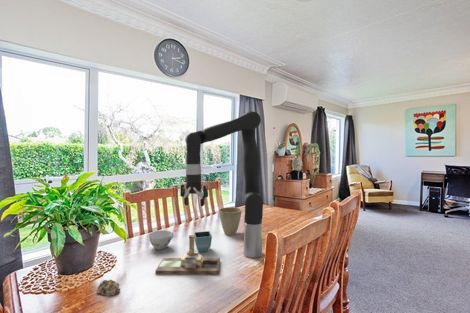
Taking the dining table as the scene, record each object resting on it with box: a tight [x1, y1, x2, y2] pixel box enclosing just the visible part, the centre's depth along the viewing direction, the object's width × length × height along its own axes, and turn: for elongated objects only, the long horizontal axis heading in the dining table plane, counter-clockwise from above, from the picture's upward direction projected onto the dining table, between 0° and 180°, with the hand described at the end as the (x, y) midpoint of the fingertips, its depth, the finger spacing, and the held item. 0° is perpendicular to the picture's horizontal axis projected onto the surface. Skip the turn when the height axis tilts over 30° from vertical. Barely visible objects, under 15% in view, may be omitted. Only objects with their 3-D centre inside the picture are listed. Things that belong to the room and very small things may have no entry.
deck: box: [154, 250, 221, 275], centre depth 119 cm, size 28×13×6 cm, turn 91°
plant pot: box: [218, 206, 243, 237], centre depth 166 cm, size 15×15×16 cm
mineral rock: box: [96, 279, 121, 297], centre depth 100 cm, size 11×4×8 cm
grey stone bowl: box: [148, 229, 174, 251], centre depth 143 cm, size 15×12×8 cm
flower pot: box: [193, 230, 213, 253], centre depth 139 cm, size 9×9×9 cm
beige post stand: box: [180, 234, 203, 266], centre depth 119 cm, size 9×5×13 cm, turn 91°
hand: (194, 205), depth 126 cm, fingers open, 8 cm apart
